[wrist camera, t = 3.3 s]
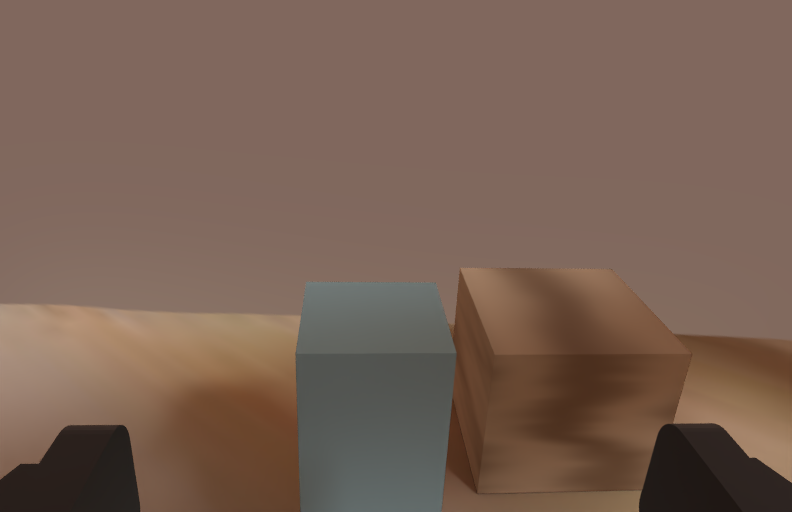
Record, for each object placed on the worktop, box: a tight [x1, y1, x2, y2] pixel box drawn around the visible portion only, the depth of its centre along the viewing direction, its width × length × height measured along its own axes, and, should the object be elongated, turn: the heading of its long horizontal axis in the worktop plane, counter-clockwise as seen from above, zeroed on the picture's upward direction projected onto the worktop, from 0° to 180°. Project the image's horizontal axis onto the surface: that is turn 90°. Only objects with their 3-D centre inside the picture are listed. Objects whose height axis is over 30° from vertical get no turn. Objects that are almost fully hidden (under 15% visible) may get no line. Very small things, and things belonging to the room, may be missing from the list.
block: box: [453, 268, 692, 494], centre depth 32 cm, size 9×9×8 cm
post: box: [296, 282, 457, 512], centre depth 23 cm, size 5×5×12 cm
